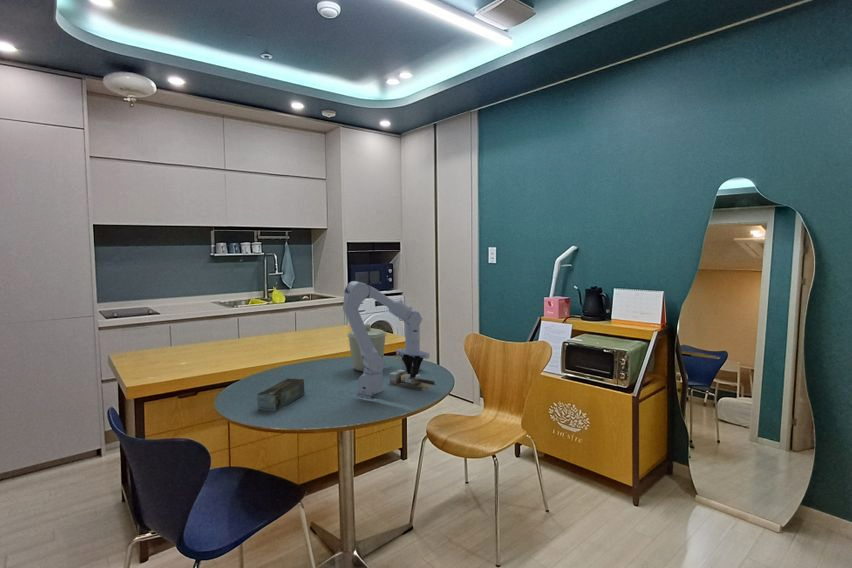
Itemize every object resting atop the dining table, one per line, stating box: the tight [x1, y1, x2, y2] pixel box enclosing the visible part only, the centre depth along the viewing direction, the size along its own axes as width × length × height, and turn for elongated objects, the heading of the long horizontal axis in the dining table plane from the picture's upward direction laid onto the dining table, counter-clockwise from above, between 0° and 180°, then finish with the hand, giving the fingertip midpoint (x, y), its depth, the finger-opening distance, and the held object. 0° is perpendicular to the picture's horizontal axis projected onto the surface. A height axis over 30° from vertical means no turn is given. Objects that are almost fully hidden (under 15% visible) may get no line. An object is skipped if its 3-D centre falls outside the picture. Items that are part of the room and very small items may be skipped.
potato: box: [401, 373, 410, 384], centre depth 182 cm, size 4×4×3 cm
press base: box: [385, 368, 436, 392], centre depth 181 cm, size 10×18×6 cm, turn 58°
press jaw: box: [405, 366, 422, 385], centre depth 180 cm, size 7×3×7 cm, turn 148°
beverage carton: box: [256, 378, 306, 412], centre depth 166 cm, size 8×19×7 cm, turn 164°
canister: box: [346, 323, 388, 372], centre depth 209 cm, size 18×18×21 cm
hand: (412, 374), depth 180 cm, fingers closed on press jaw, 2 cm apart
